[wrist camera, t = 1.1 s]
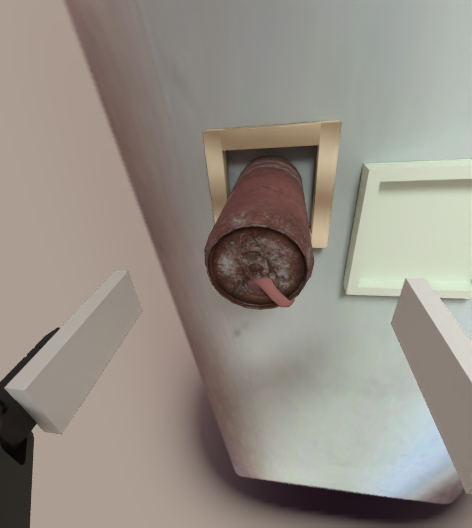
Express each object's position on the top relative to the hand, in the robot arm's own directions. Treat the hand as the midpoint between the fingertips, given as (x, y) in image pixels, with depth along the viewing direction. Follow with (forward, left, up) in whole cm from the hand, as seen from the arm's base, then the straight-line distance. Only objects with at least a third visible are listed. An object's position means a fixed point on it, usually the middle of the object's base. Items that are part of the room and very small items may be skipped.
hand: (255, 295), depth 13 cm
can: (0, 0, -16) cm, 16 cm away
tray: (+4, +15, -15) cm, 22 cm away
